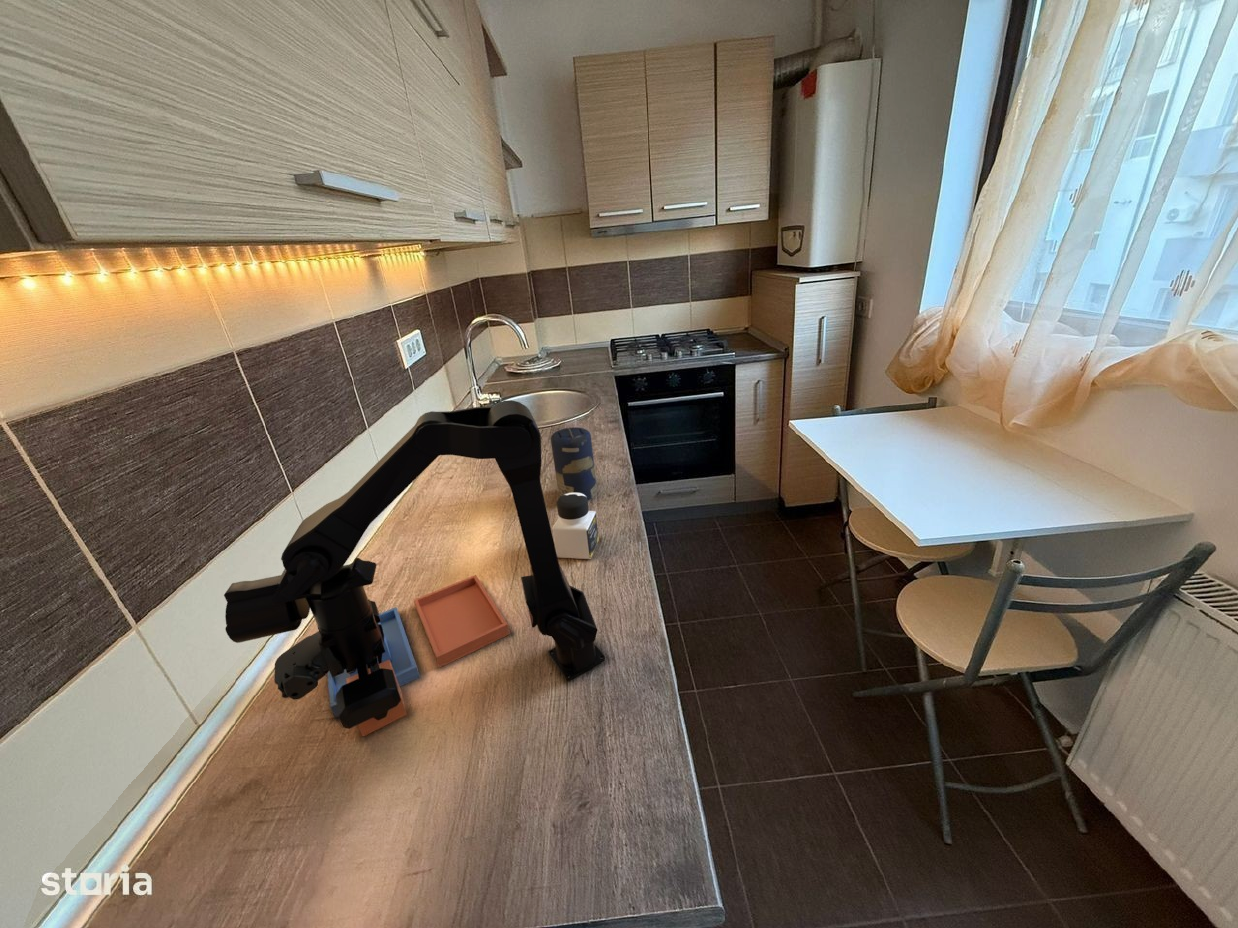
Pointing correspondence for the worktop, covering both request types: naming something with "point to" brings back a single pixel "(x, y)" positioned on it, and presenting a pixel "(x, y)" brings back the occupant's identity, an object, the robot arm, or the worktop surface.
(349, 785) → the worktop surface
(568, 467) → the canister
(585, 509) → the medicine bottle
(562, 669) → the robot arm
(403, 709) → the terracotta block
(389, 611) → the blue tray
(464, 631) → the terracotta tray
